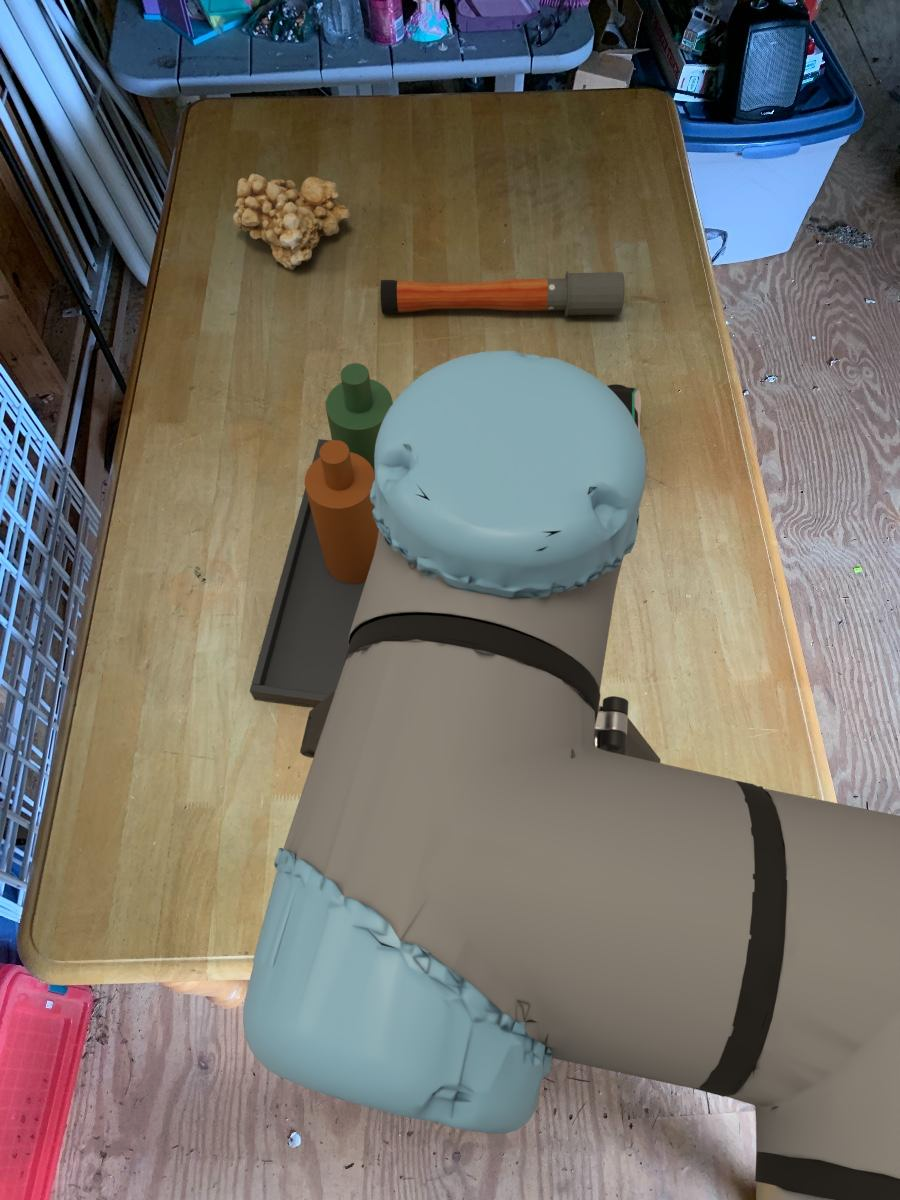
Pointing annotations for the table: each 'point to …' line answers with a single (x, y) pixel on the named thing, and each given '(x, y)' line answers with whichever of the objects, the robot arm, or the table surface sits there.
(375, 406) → the green bottle
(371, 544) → the amber bottle
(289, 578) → the tray
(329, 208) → the mineral formation
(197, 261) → the table surface
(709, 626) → the table surface
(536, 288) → the stick grenade
